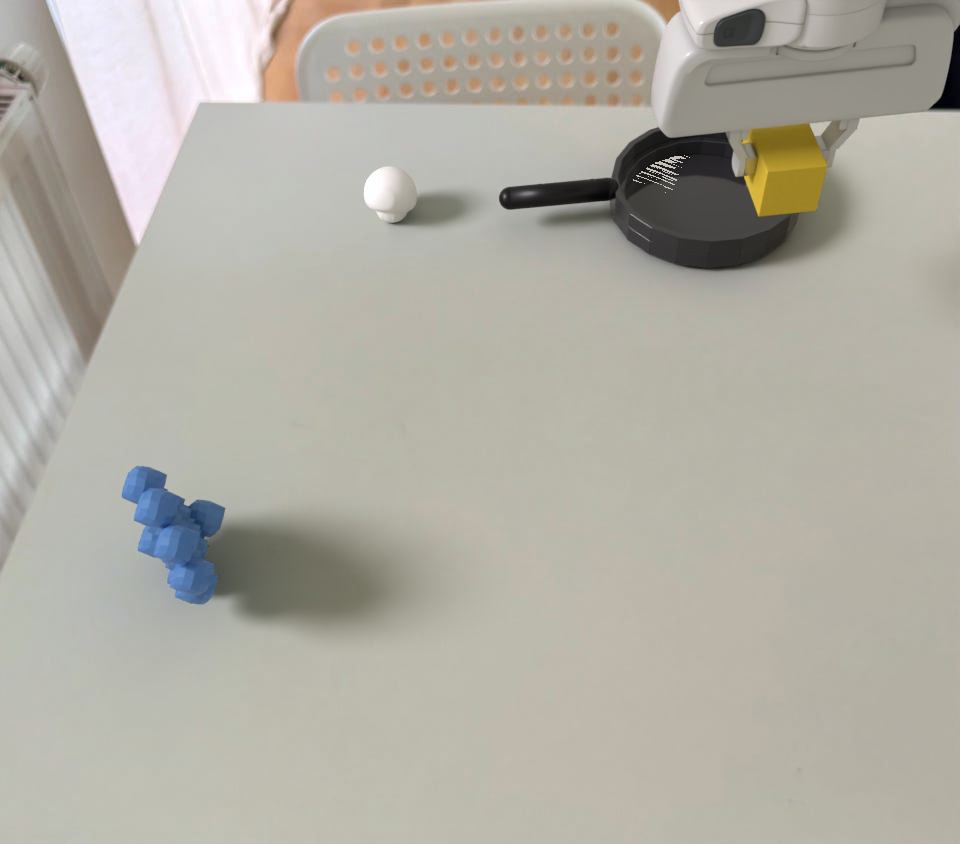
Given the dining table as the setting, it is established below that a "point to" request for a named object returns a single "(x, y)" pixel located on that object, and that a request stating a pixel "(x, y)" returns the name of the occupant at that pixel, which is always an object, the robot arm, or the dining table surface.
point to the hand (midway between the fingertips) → (780, 167)
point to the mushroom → (390, 193)
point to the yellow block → (786, 170)
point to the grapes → (175, 532)
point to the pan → (691, 203)
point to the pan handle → (558, 193)
